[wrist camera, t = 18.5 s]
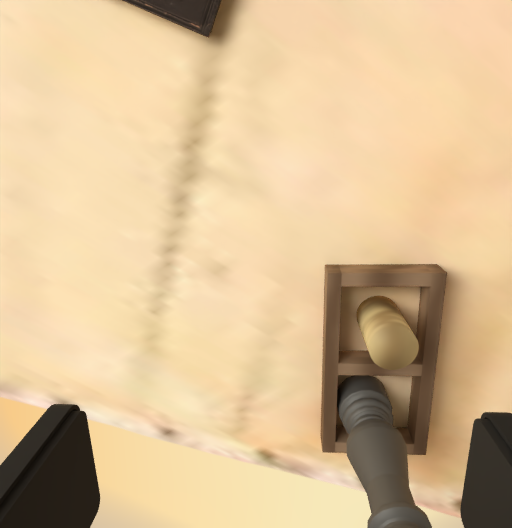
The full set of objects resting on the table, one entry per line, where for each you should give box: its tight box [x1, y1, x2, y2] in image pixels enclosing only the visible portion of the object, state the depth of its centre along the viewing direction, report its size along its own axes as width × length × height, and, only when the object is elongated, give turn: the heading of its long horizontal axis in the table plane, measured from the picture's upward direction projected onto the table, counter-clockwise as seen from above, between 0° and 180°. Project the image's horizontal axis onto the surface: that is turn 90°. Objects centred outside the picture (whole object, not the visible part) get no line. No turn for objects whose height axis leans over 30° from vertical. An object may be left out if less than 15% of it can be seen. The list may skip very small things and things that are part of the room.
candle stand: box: [321, 264, 447, 455], centre depth 48 cm, size 12×23×8 cm, turn 1°
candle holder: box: [337, 375, 432, 528], centre depth 42 cm, size 6×6×25 cm
